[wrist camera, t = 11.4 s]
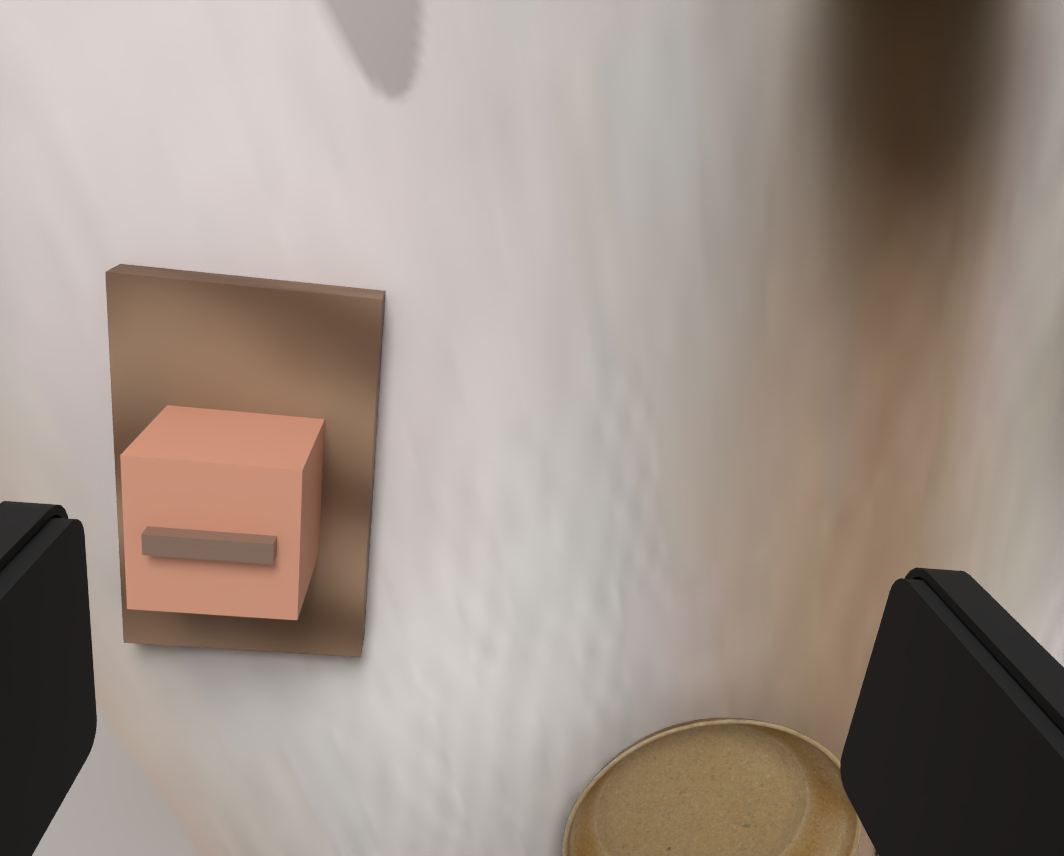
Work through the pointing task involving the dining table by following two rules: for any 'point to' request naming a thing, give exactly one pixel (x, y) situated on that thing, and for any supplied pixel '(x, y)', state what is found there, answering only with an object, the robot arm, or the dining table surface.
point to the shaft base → (267, 388)
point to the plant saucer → (716, 796)
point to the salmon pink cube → (222, 512)
